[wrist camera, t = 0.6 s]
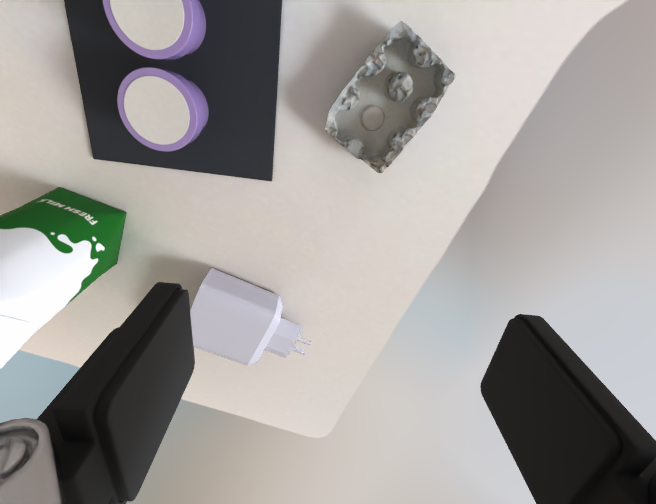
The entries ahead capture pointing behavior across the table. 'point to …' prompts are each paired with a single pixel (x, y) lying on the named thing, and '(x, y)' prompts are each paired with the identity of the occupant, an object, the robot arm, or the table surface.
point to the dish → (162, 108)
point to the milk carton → (51, 259)
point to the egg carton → (389, 98)
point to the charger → (240, 320)
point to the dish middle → (158, 26)
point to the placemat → (203, 70)
